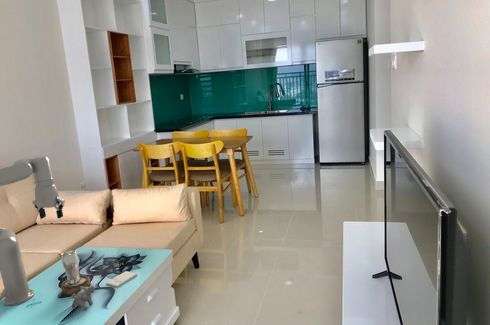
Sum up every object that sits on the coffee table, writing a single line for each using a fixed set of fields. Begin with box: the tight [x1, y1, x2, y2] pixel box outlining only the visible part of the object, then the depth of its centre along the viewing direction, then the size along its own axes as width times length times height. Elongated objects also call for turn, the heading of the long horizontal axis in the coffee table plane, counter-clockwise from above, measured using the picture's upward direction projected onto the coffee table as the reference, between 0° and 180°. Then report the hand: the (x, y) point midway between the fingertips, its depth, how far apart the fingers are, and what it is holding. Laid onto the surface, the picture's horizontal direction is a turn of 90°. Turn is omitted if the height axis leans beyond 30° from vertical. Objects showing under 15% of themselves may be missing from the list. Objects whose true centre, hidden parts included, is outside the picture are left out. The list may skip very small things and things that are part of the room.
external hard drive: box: [105, 270, 138, 288], centre depth 197 cm, size 2×8×12 cm
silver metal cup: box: [60, 249, 81, 285], centre depth 191 cm, size 7×7×15 cm
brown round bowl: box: [60, 274, 92, 297], centre depth 193 cm, size 13×13×4 cm
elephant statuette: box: [71, 285, 96, 311], centre depth 178 cm, size 9×12×8 cm
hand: (51, 217), depth 193 cm, fingers open, 9 cm apart
